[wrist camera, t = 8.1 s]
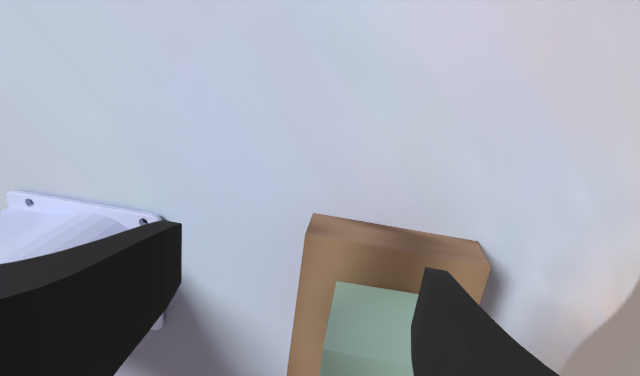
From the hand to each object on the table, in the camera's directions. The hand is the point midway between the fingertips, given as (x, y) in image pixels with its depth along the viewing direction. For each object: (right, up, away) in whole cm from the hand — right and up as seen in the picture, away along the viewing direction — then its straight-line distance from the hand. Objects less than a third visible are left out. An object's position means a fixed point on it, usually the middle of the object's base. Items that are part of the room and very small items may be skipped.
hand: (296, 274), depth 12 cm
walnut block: (+4, -4, +12) cm, 14 cm away
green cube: (+4, -5, +10) cm, 11 cm away
